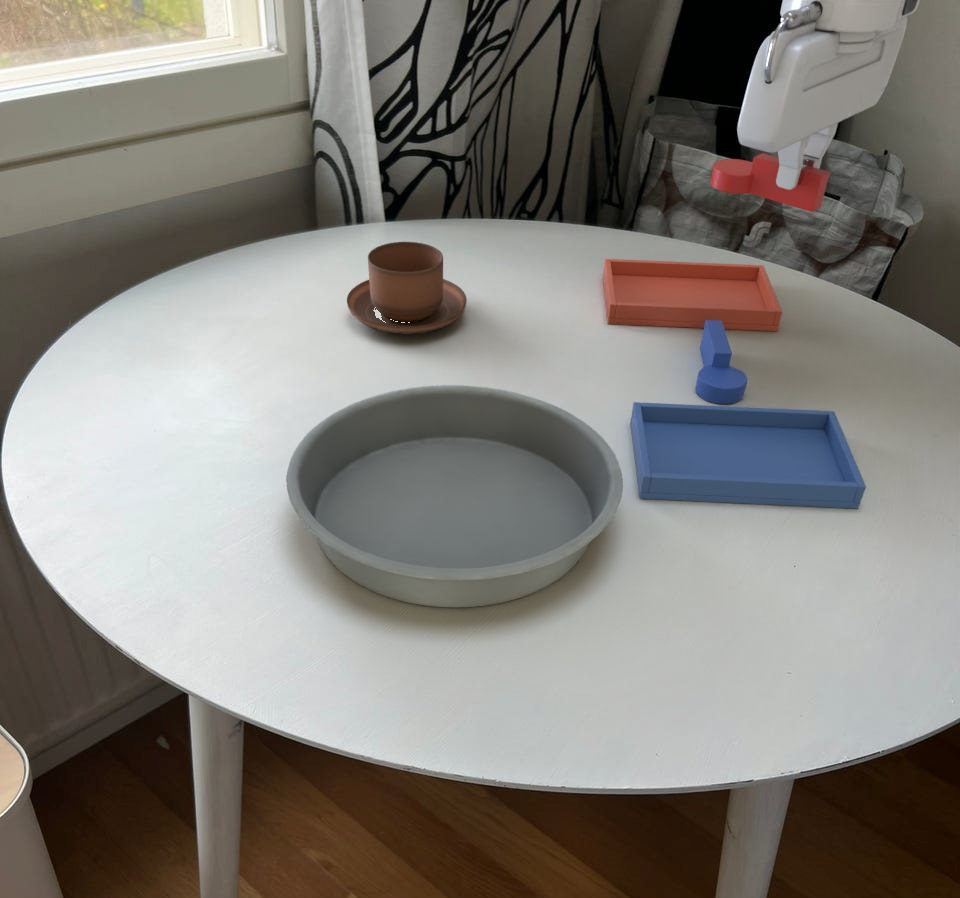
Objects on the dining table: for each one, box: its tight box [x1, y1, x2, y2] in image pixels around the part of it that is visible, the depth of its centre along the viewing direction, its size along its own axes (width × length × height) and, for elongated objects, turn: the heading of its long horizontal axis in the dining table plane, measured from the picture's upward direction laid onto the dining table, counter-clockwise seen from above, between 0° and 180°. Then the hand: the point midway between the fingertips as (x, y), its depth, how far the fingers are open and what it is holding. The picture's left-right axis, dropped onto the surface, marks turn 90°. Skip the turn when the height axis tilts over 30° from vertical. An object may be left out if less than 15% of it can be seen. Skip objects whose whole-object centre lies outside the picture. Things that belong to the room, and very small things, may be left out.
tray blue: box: [630, 401, 867, 510], centre depth 78 cm, size 17×11×2 cm, turn 87°
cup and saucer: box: [346, 241, 468, 335], centre depth 94 cm, size 12×12×6 cm
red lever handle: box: [709, 153, 831, 213], centre depth 85 cm, size 10×4×3 cm, turn 49°
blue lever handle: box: [694, 320, 748, 405], centre depth 88 cm, size 10×4×3 cm, turn 177°
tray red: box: [602, 258, 783, 332], centre depth 100 cm, size 17×11×2 cm, turn 87°
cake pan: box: [285, 384, 624, 608], centre depth 71 cm, size 25×25×4 cm
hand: (796, 182), depth 83 cm, fingers closed on red lever handle
